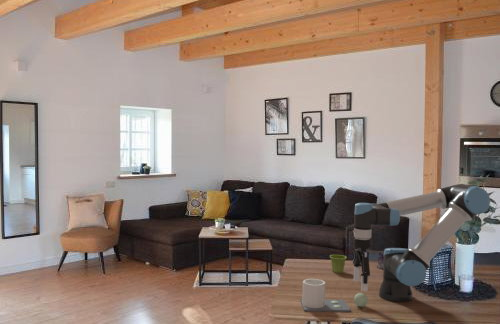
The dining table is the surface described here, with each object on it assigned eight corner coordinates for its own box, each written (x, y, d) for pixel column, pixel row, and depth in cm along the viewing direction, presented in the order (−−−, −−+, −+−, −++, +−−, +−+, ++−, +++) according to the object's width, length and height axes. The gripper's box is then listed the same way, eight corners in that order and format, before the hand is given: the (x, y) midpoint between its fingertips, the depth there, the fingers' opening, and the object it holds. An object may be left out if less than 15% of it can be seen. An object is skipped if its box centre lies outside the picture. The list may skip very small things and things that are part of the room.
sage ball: (365, 304, 210) (366, 291, 209) (369, 309, 204) (369, 295, 203) (352, 304, 210) (352, 291, 209) (355, 308, 204) (355, 295, 203)
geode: (389, 272, 265) (387, 254, 265) (372, 270, 274) (371, 253, 274) (409, 265, 278) (407, 248, 278) (393, 263, 287) (391, 247, 287)
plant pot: (348, 271, 264) (349, 256, 264) (342, 275, 256) (343, 259, 256) (333, 268, 269) (333, 253, 269) (326, 272, 261) (327, 257, 261)
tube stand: (344, 301, 213) (344, 278, 213) (350, 311, 200) (351, 286, 200) (300, 300, 213) (300, 277, 212) (304, 311, 200) (304, 286, 199)
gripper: (347, 232, 218) (345, 277, 219) (360, 244, 193) (358, 294, 194) (363, 232, 218) (361, 277, 219) (378, 244, 193) (376, 295, 194)
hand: (360, 285), depth 206 cm, fingers open, 13 cm apart
